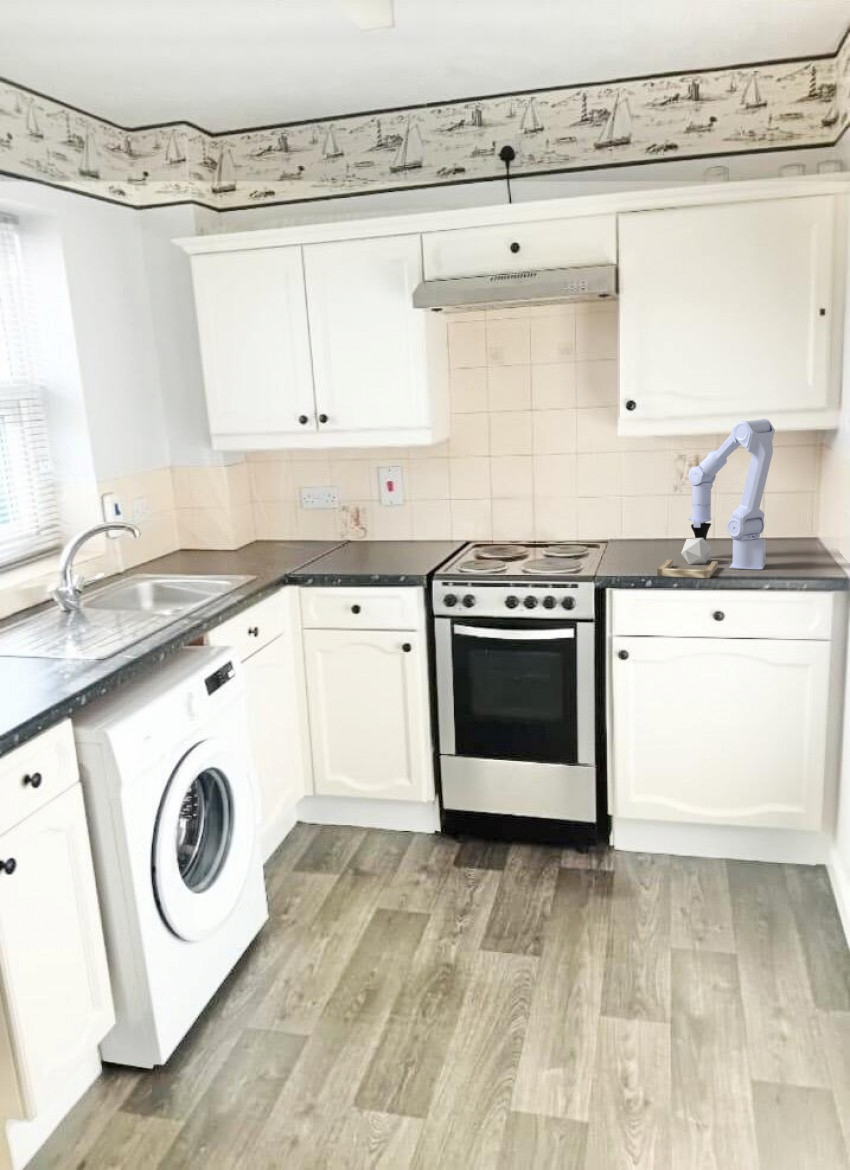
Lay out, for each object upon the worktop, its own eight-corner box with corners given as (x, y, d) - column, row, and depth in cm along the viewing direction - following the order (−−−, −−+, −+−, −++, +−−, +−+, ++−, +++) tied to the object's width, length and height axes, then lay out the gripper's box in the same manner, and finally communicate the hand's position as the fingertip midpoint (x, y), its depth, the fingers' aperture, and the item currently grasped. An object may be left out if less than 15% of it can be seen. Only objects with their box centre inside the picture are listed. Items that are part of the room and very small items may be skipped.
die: (705, 568, 278) (719, 541, 279) (680, 555, 278) (694, 528, 280) (698, 572, 286) (711, 546, 287) (673, 560, 287) (686, 533, 288)
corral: (717, 567, 275) (717, 561, 275) (709, 578, 263) (709, 571, 262) (667, 565, 282) (667, 559, 281) (657, 575, 269) (657, 569, 269)
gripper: (692, 500, 295) (692, 541, 298) (683, 507, 282) (683, 549, 285) (715, 500, 292) (714, 542, 295) (707, 507, 279) (706, 550, 282)
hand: (700, 546), depth 290 cm, fingers closed
